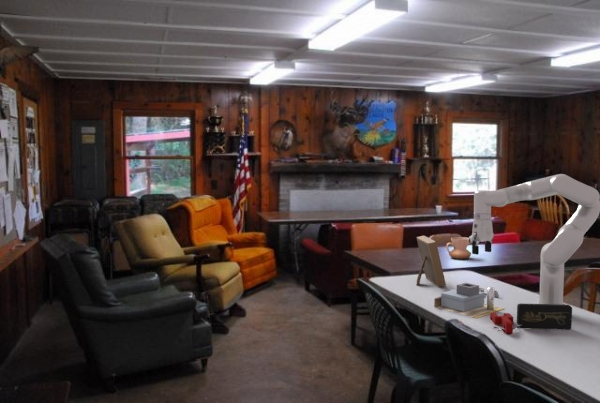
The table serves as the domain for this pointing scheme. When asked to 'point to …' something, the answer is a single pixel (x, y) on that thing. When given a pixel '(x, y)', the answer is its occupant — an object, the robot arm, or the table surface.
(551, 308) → the nameplate
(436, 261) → the photo frame
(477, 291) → the square socket plate
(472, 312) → the bay
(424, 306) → the table surface
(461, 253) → the ceramic jug
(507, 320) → the red block assembly
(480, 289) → the pulley system
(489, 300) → the handle peg
